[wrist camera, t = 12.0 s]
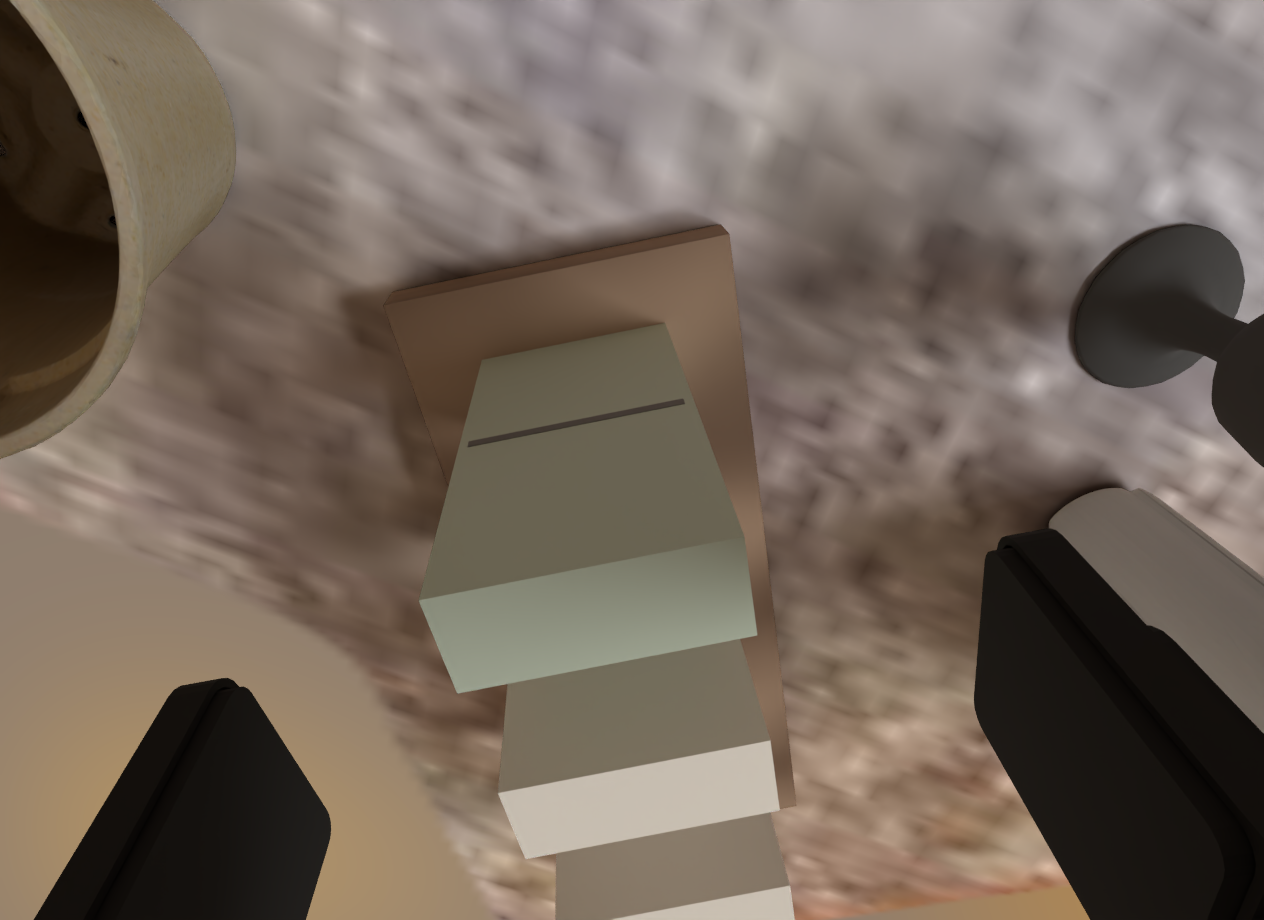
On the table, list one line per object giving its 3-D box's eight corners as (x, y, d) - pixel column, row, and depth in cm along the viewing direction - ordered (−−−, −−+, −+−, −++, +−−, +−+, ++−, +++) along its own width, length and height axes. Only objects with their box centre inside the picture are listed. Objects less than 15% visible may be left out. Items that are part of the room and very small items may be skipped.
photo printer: (1183, 656, 30) (1541, 1006, 19) (1078, 699, 30) (1363, 1060, 19) (1142, 461, 25) (1587, 778, 14) (1017, 517, 26) (1350, 860, 15)
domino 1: (523, 500, 22) (497, 792, 13) (688, 466, 22) (769, 739, 13) (539, 554, 23) (526, 859, 14) (698, 523, 23) (779, 811, 14)
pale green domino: (481, 359, 20) (418, 599, 11) (665, 321, 20) (744, 535, 11) (501, 426, 21) (457, 694, 12) (676, 390, 21) (757, 636, 12)
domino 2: (558, 614, 24) (555, 929, 16) (708, 584, 24) (789, 884, 16) (571, 659, 25) (576, 979, 17) (716, 631, 25) (797, 938, 17)
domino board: (392, 292, 20) (383, 305, 19) (720, 224, 20) (729, 233, 19) (577, 820, 31) (577, 847, 30) (788, 780, 31) (796, 805, 30)
